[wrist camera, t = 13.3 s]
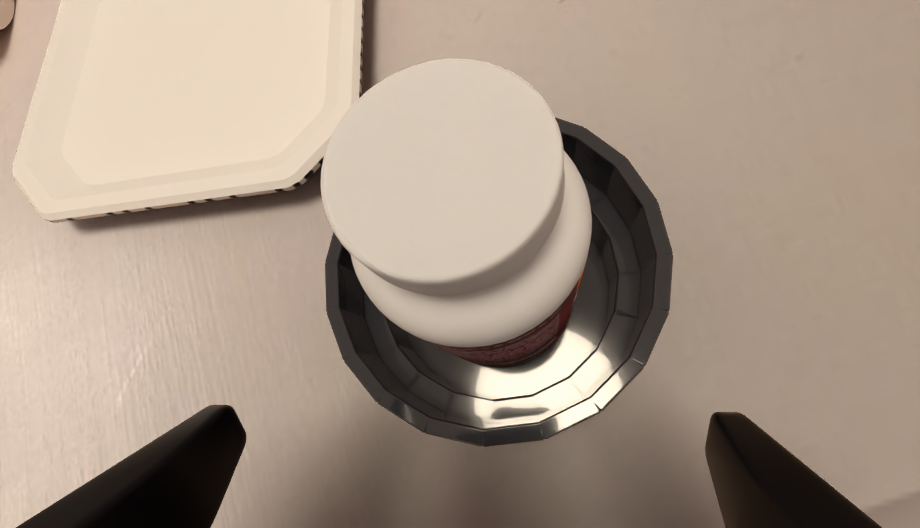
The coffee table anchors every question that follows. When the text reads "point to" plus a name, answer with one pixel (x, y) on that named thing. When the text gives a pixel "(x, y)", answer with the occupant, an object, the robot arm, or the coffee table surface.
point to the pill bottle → (460, 209)
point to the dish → (559, 367)
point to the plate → (185, 102)
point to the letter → (6, 12)
